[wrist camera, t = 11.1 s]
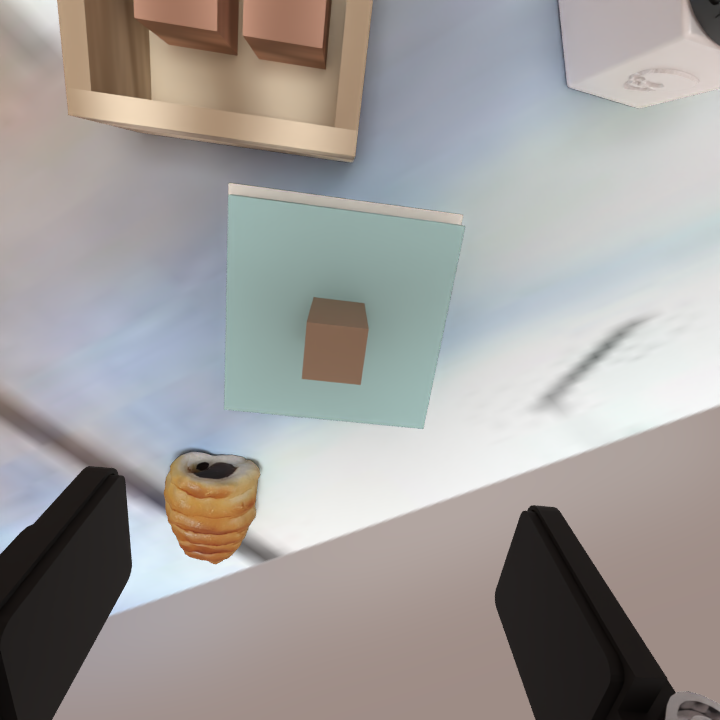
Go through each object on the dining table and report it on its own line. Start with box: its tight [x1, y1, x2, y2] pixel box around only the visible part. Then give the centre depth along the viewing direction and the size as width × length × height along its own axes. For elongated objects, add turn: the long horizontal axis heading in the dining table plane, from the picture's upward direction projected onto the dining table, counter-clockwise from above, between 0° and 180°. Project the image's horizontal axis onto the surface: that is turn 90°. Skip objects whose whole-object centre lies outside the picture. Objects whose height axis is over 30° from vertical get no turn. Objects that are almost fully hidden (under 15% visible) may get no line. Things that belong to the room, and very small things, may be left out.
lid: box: [224, 194, 465, 429], centre depth 25 cm, size 13×13×8 cm
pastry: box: [164, 452, 260, 564], centre depth 33 cm, size 9×7×4 cm
